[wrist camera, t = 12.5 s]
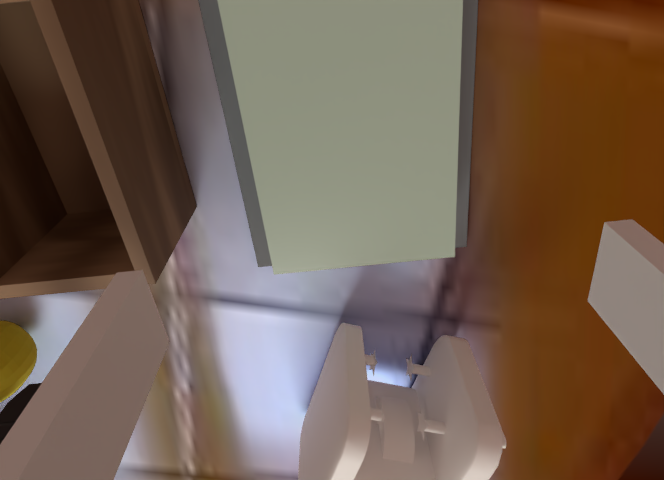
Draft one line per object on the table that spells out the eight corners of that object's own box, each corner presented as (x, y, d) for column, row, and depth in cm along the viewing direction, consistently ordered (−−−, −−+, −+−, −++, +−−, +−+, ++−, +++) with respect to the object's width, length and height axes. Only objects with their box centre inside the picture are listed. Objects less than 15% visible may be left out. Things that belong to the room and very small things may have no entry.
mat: (259, 262, 34) (258, 267, 34) (187, -59, 24) (184, -60, 23) (464, 242, 33) (466, 246, 33) (479, -96, 23) (482, -98, 23)
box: (66, 220, 32) (-16, 300, 24) (-37, -8, 25) (-199, 3, 17) (196, 206, 32) (155, 283, 24) (130, -29, 25) (41, -28, 17)
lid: (279, 240, 32) (274, 274, 29) (229, -20, 24) (213, -18, 21) (439, 224, 32) (454, 256, 28) (443, -47, 24) (464, -49, 20)
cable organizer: (343, 298, 36) (351, 425, 26) (468, 324, 38) (521, 454, 28) (298, 422, 43) (291, 559, 33) (405, 440, 45) (428, 576, 35)
